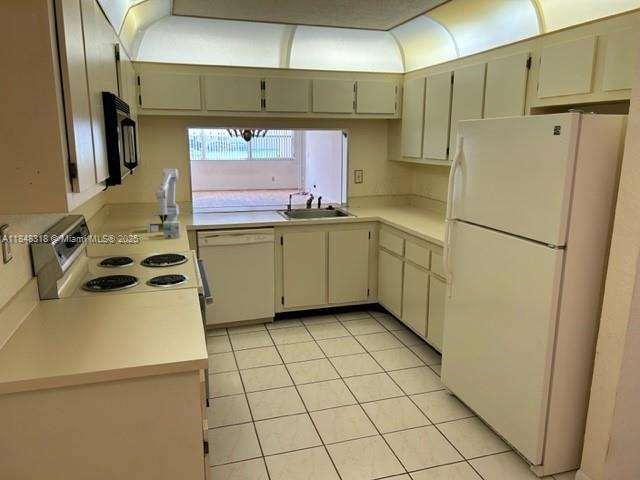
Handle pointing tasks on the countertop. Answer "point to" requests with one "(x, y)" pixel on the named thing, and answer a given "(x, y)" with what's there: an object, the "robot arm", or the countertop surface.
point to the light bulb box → (171, 229)
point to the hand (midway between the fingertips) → (164, 225)
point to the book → (154, 229)
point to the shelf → (160, 227)
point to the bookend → (148, 226)
